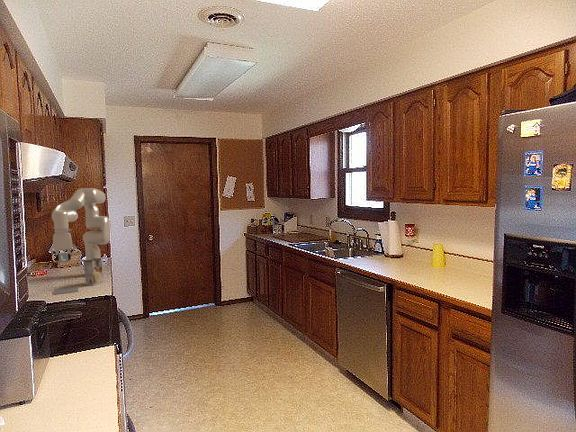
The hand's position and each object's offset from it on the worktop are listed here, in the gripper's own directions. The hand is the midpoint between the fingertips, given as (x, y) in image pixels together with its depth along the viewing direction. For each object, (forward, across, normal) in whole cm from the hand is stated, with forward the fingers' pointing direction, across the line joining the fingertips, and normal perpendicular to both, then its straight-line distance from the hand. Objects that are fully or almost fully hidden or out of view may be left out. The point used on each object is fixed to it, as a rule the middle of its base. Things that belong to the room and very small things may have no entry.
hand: (63, 260), depth 237 cm
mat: (+19, 0, 0) cm, 19 cm away
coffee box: (+19, -16, -10) cm, 27 cm away
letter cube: (+1, 0, 0) cm, 1 cm away
